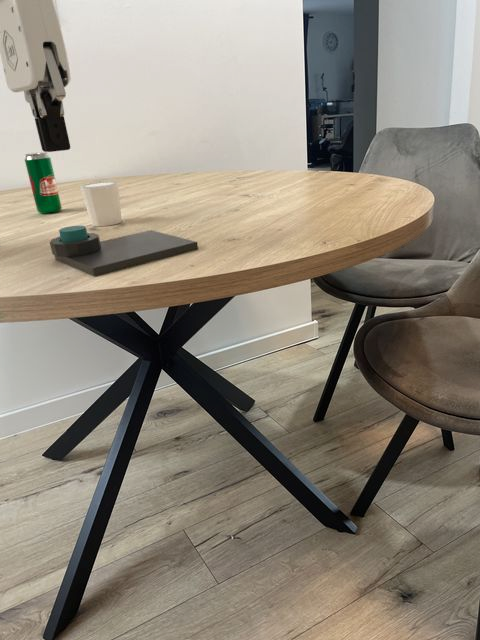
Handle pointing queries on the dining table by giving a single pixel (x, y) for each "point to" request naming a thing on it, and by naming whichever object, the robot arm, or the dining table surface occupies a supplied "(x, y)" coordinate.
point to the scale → (118, 251)
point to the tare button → (73, 233)
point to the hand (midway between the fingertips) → (56, 150)
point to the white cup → (102, 203)
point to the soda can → (43, 182)
